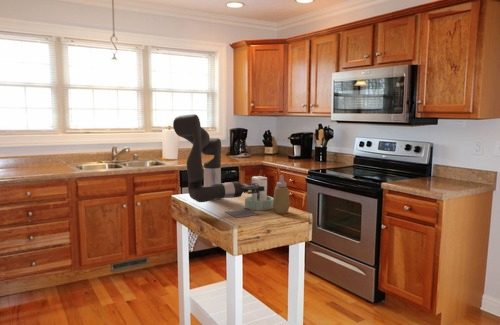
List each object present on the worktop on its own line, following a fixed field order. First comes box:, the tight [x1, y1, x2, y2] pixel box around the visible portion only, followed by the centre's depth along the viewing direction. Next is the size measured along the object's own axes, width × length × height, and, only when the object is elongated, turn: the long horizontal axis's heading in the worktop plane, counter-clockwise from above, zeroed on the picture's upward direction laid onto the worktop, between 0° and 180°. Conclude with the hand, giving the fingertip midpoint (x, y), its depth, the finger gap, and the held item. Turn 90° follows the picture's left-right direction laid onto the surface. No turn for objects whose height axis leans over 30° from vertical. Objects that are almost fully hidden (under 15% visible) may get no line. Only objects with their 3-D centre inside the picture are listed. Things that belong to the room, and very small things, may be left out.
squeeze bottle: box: [273, 174, 291, 215], centre depth 185 cm, size 8×8×18 cm
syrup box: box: [251, 175, 268, 201], centre depth 197 cm, size 6×6×14 cm
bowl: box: [244, 195, 274, 211], centre depth 198 cm, size 14×14×4 cm
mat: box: [224, 208, 260, 219], centre depth 185 cm, size 12×12×1 cm
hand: (259, 187), depth 197 cm, fingers open, 8 cm apart
